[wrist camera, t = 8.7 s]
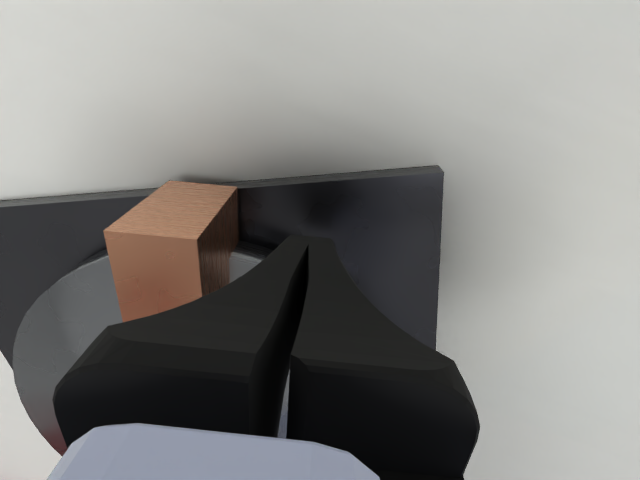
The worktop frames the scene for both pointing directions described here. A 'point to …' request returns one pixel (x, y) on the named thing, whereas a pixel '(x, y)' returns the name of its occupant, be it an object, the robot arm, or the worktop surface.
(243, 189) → the turntable base
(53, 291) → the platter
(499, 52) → the worktop surface
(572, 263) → the worktop surface
